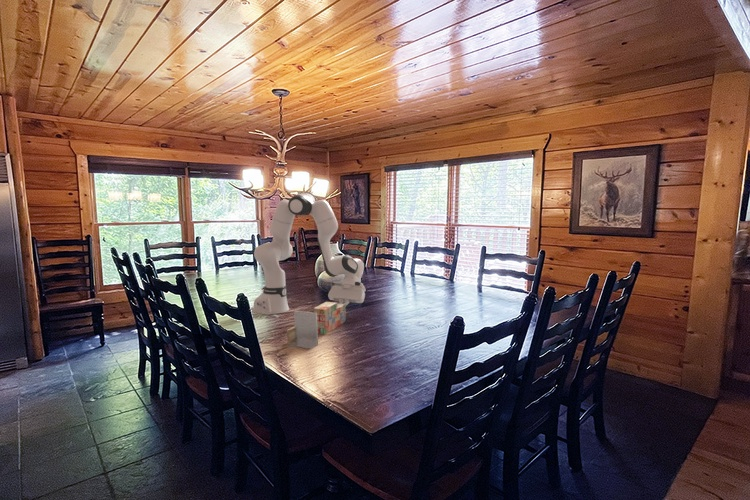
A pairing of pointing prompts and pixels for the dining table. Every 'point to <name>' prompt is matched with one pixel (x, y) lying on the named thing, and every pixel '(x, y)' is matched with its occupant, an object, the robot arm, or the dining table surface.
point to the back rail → (291, 335)
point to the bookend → (305, 330)
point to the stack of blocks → (330, 316)
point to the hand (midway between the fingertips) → (341, 307)
